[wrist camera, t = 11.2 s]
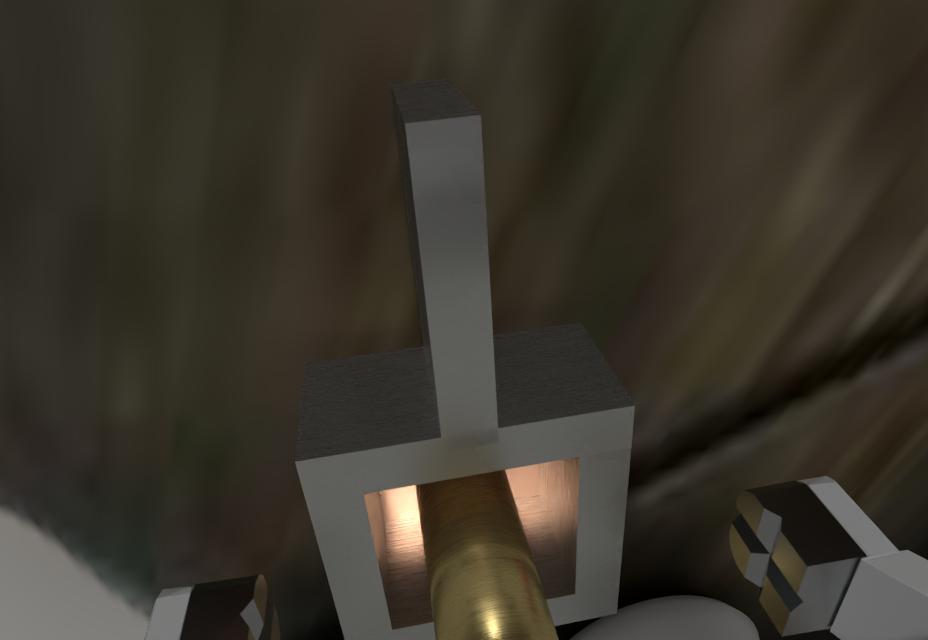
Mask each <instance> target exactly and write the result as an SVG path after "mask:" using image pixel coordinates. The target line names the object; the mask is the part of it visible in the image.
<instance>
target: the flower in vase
mask: <svg viewBox="0 0 928 640" xmlns="http://www.w3.org/2000/svg"><path fill="white" fill-rule="evenodd" d="M570 640H760V639H759V635H758V631H757V629H756V627H755V625H754V623H753V622H752V621H751V620H750V619H749V618H748V616H746V615H745V614H743V613H742V612H740V611H739V610H737V609H735V608H733V607H731V606H729V605H727V604H725V603H723V602H721V601H719V600H716V599H712V598H708V597H702V596H692V595H678V596H666V597H660V598H654V599H650V600H646V601H642V602H638V603H635V604H632V605H629V606H626V607H624V608H621V609H619V610H617V614H613V615H608V616H603V617H601V618H600V619H598V620H596V621H595V622H593V623H591V624H590V625H588V626H586V627H585V628H584V629H582V630H581V631H580V632H578V633H577V634H575V635H574V636H573V637H572V638H571V639H570Z"/></svg>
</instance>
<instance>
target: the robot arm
mask: <svg viewBox="0 0 928 640" xmlns="http://www.w3.org/2000/svg"><path fill="white" fill-rule="evenodd" d="M736 506H737V508H738V509H739V511H740V512H741V514H740V515H739V516H738V517H737V518H736V519H735V520H734V521H733V522H732V523H731V527H730V533H729V540H730V546H731V552H732V554H733V557H734V559H735V562H736V564H737V566H738V567H739V569H740V571H741V572H742V574H743V576H744V577H745V578H746V579H748V580H750V581H751V582H753V583H754V584H756V585H758V586H759V587H760V594H759V601H760V603H761V605H762V606H763V608H764V609H765V611H766V612H767V614H768V616H769V617H770V619H771V620H772V622H773V623H774V625H775V627H776V628H777V630H778V631H779V633H780V635H781V636H788V635H794V634H800V633H806V632H812V631H817V630H823V629H829V628H831V630H830V632H832V633H833V634H834V635H836V636H837V637H838V638H840V639H841V640H928V560H926V559H924V558H922V557H920V556H919V555H917V554H915V553H913V552H911V551H909V550H903V551H899V550H898V549H897V548H896V547H895V546H894V545H893V544H892V543H891V542H890V541H889V539H888V538H887V537H886V536H885V535H884V534H883V533H882V532H881V531H880V530H879V528H878V527H877V526H876V525H875V524H874V523H873V522H872V521H871V520H870V519H869V518H868V516H867V515H866V514H865V513H864V512H863V511H862V510H861V509H860V508H859V507H858V505H857V504H856V503H855V502H854V501H853V500H852V499H851V498H850V497H849V496H848V495H847V493H846V492H845V491H844V490H843V489H842V488H841V487H840V486H839V485H838V484H837V482H836V481H834V480H833V479H831V478H829V477H828V476H822V477H816V478H810V479H805V480H799V481H789V482H784V483H779V484H773V485H768V486H763V487H757V488H752V489H747V490H743V491H742V492H741V493H740V494H739V495H738V499H737V503H736ZM267 591H268V586H267V584H266V581H265V579H264V576H263V574H262V575H255V576H249V577H242V578H235V579H228V580H221V581H214V582H208V583H201V584H194V585H188V586H182V587H176V588H170V589H164V590H162V592H161V593H160V595H159V596H158V598H157V600H156V601H155V605H154V608H153V612H152V615H151V619H150V622H149V625H148V629H147V633H146V636H145V639H144V640H280V626H279V620H278V615H277V611H276V608H275V605H274V604H273V603H271V602H269V601H267Z"/></svg>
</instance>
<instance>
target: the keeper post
mask: <svg viewBox="0 0 928 640" xmlns="http://www.w3.org/2000/svg"><path fill="white" fill-rule="evenodd" d="M533 494H539V482H538V464H535V465H529V466H523V467H517V468H512V469H506V470H500V471H494V472H489V473H483V474H477V475H471V476H465V477H460V478H454V479H448V480H442V481H436V482H431V483H425V484H419V485H413V486H407V487H402V488H396V489H390V490H384V491H379V495H380V500H381V506H382V511H383V516H384V521H387V520H392V519H398V518H404V517H409V516H415V515H419V518H420V525H421V533H422V540H423V548H424V555H425V563H426V570H427V577H428V585H429V592H430V600H431V607H432V615H433V622H434V629H435V637H436V640H559V639H558V636H557V633H556V629H555V626H554V623H553V620H552V617H551V614H550V610H549V607H548V604H547V601H546V598H545V595H544V591H543V588H542V585H541V582H540V579H539V576H538V572H537V569H536V566H535V563H534V560H533V557H532V553H531V550H530V547H529V544H528V541H527V538H526V534H525V531H524V528H523V525H522V522H521V519H520V515H519V512H518V509H517V506H516V503H515V500H514V498H516V497H522V496H527V495H533Z"/></svg>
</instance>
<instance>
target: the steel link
mask: <svg viewBox="0 0 928 640" xmlns="http://www.w3.org/2000/svg"><path fill="white" fill-rule="evenodd" d="M390 85H391V93H392V101H393V109H394V117H395V126H396V134H397V142H398V150H399V158H400V166H401V174H402V182H403V190H404V198H405V206H406V214H407V222H408V230H409V238H410V246H411V254H412V263H413V271H414V279H415V287H416V295H417V303H418V311H419V319H420V327H421V335H422V343H423V346H419V347H413V348H406V349H399V350H393V351H386V352H379V353H373V354H366V355H359V356H352V357H346V358H339V359H332V360H326V361H319V362H312V363H305V366H304V376H303V386H302V396H301V406H300V416H299V427H298V437H297V447H296V457H295V463H296V467H297V471H298V474H299V478H300V481H301V485H302V489H303V492H304V496H305V499H306V503H307V506H308V510H309V514H310V517H311V521H312V524H313V528H314V531H315V535H316V539H317V542H318V546H319V549H320V553H321V556H322V560H323V564H324V567H325V571H326V574H327V578H328V581H329V585H330V589H331V592H332V596H333V599H334V603H335V607H336V610H337V614H338V617H339V621H340V624H341V628H342V632H343V635H344V639H345V640H436V637H435V629H434V622H433V615H432V607H431V600H430V592H429V585H428V577H427V570H426V563H425V555H424V548H423V540H422V533H421V525H420V518H419V515H415V516H409V517H404V518H398V519H392V520H387V521H384V516H383V511H382V506H381V500H380V495H379V491H384V490H390V489H396V488H402V487H407V486H413V485H419V484H425V483H431V482H436V481H442V480H448V479H454V478H460V477H465V476H471V475H477V474H483V473H489V472H494V471H500V470H506V469H512V468H517V467H523V466H529V465H535V464H538V482H539V494H533V495H527V496H522V497H516V498H514V500H515V503H516V506H517V509H518V512H519V515H520V519H521V522H522V525H523V528H524V531H525V534H526V538H527V541H528V544H529V547H530V550H531V553H532V557H533V560H534V563H535V566H536V569H537V572H538V576H539V579H540V582H541V585H542V588H543V591H544V595H545V598H546V601H547V604H548V607H549V610H550V614H551V617H552V620H553V623H554V626H558V625H563V624H568V623H573V622H578V621H583V620H588V619H593V618H598V617H603V616H608V615H613V614H617V606H618V594H619V583H620V571H621V560H622V548H623V537H624V525H625V514H626V502H627V491H628V479H629V468H630V456H631V445H632V433H633V422H634V410H635V405H634V404H633V402H632V400H631V399H630V397H629V396H628V394H627V393H626V391H625V390H624V388H623V387H622V385H621V384H620V382H619V381H618V379H617V377H616V376H615V374H614V373H613V371H612V370H611V368H610V367H609V365H608V364H607V362H606V361H605V359H604V358H603V356H602V354H601V353H600V351H599V350H598V348H597V347H596V345H595V344H594V342H593V341H592V339H591V338H590V336H589V335H588V333H587V331H586V330H585V328H584V327H583V325H582V324H581V322H580V323H574V324H567V325H560V326H554V327H547V328H540V329H533V330H527V331H520V332H513V333H507V334H500V335H493V327H492V309H491V291H490V273H489V255H488V237H487V219H486V201H485V183H484V165H483V147H482V129H481V115H480V114H479V112H478V111H477V110H476V109H475V108H474V107H473V106H472V105H471V103H470V102H469V101H468V100H467V99H466V98H465V97H464V95H463V94H462V93H461V92H460V91H459V90H458V89H457V88H456V86H455V85H454V84H453V83H452V82H451V81H450V80H449V78H445V79H435V80H425V81H416V82H406V83H396V84H390Z"/></svg>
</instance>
